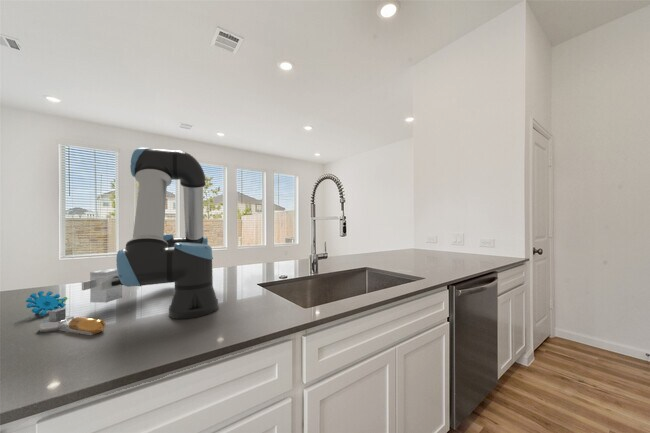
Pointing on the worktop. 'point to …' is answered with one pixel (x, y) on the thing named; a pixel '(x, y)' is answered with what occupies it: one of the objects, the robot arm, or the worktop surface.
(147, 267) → the robot arm
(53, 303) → the gear
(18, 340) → the worktop surface
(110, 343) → the worktop surface
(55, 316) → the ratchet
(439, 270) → the worktop surface
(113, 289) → the brushed metal block
